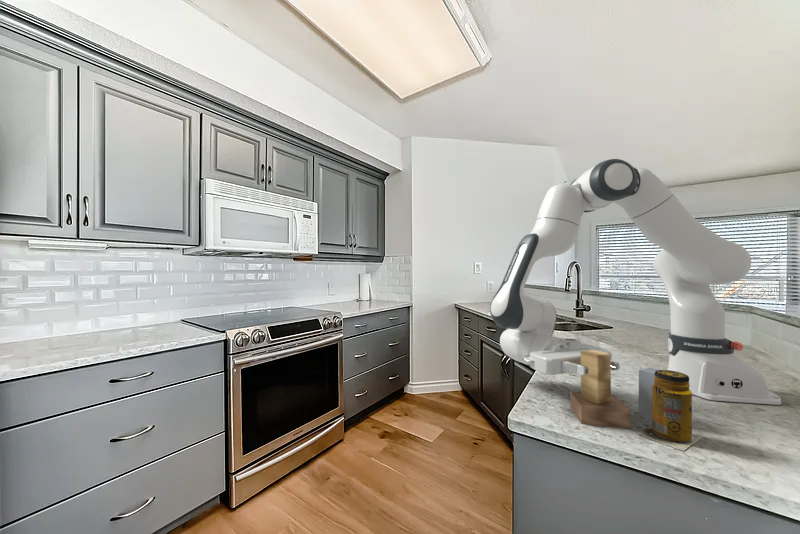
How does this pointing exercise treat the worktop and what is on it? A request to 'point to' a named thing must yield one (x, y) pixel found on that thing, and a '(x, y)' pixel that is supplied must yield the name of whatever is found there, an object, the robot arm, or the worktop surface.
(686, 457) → the worktop surface
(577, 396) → the walnut plinth
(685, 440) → the condiment
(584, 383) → the oak pillar
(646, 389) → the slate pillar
